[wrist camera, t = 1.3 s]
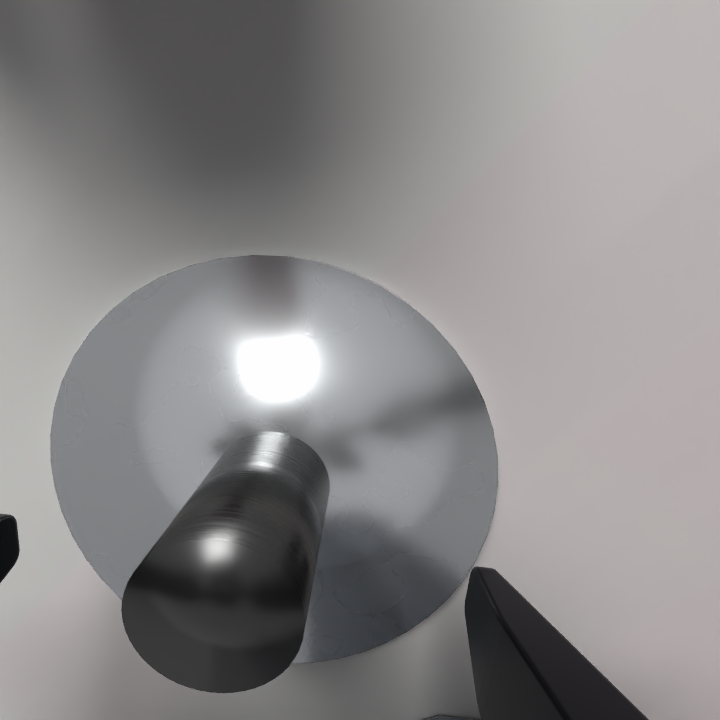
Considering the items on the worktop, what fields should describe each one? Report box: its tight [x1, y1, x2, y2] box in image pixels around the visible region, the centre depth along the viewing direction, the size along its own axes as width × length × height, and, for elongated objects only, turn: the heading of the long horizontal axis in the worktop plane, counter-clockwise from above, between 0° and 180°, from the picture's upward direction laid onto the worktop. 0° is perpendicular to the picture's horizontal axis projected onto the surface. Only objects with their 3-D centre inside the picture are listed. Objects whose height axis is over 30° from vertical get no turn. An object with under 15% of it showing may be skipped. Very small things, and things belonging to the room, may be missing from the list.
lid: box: [51, 255, 498, 693], centre depth 9 cm, size 12×12×5 cm
